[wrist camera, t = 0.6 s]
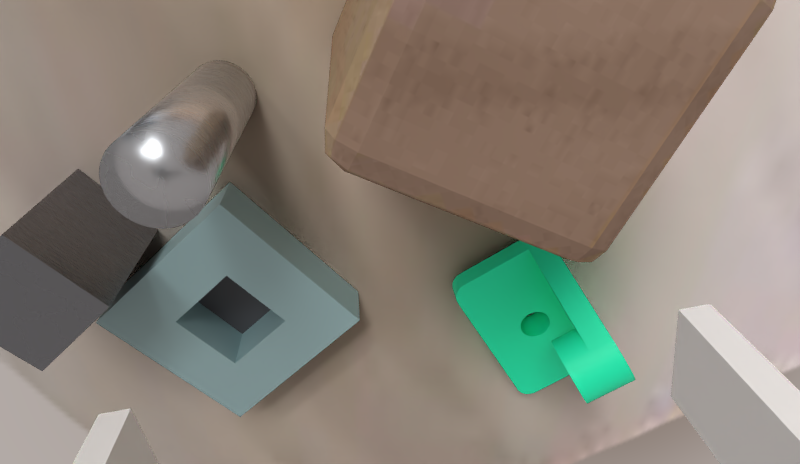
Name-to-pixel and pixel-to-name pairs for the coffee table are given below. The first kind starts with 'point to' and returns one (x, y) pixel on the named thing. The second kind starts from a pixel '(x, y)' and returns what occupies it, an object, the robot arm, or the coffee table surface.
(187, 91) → the cylinder
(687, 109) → the wooden block
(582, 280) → the coffee table surface
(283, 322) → the socket plate
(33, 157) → the coffee table surface
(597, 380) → the camera mount
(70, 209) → the square bit
